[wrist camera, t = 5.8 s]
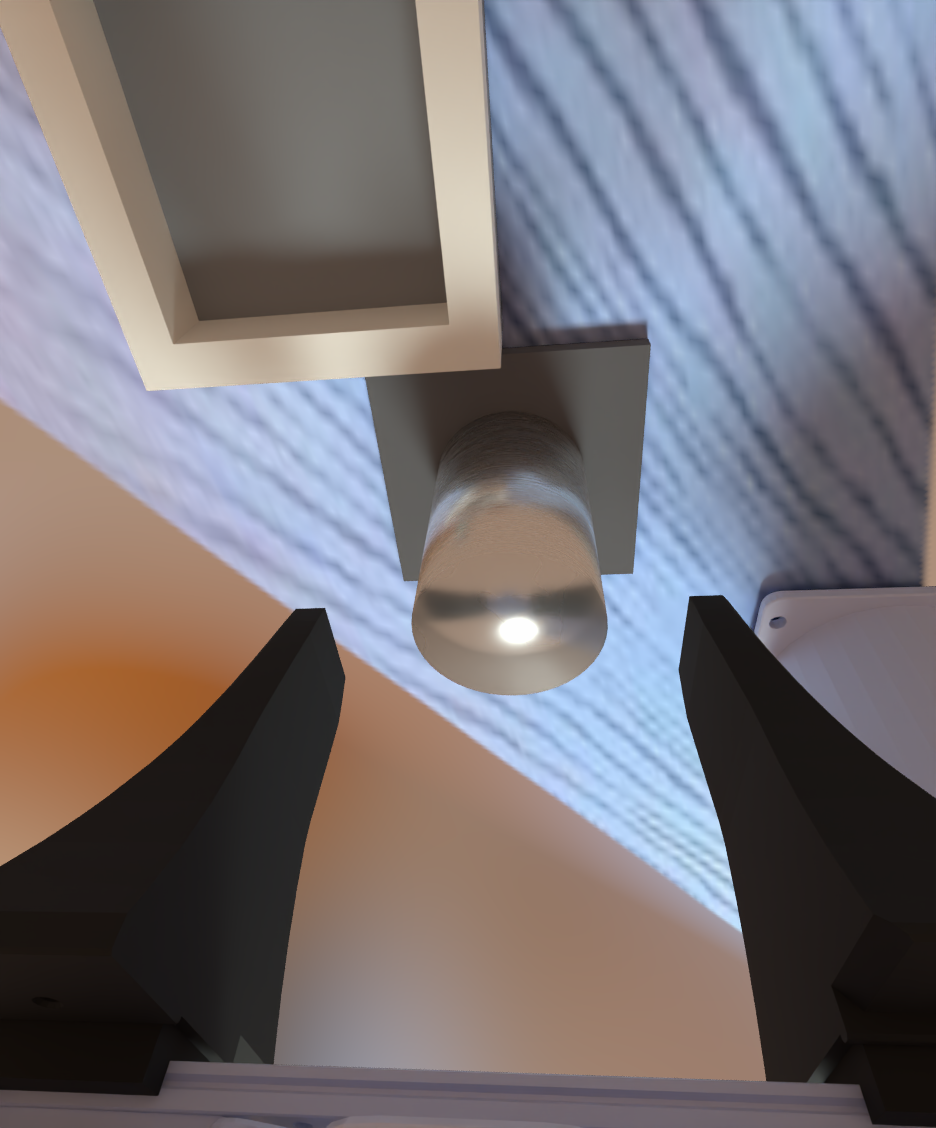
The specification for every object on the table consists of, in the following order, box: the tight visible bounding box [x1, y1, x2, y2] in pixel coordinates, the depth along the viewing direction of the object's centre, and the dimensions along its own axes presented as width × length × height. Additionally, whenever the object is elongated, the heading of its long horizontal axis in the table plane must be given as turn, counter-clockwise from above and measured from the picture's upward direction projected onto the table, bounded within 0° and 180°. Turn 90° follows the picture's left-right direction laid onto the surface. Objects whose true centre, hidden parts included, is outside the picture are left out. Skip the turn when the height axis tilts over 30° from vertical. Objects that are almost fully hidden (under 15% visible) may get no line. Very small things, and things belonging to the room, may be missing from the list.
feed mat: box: [365, 339, 651, 581], centre depth 19 cm, size 7×7×1 cm
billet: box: [412, 411, 608, 695], centre depth 16 cm, size 4×4×6 cm
